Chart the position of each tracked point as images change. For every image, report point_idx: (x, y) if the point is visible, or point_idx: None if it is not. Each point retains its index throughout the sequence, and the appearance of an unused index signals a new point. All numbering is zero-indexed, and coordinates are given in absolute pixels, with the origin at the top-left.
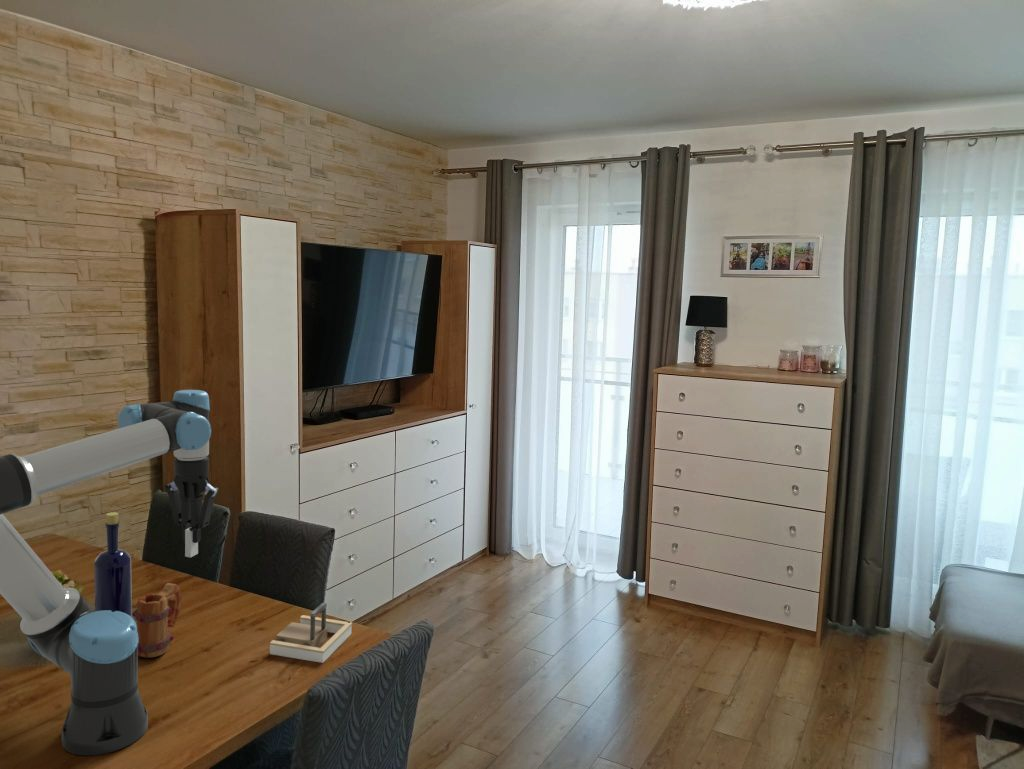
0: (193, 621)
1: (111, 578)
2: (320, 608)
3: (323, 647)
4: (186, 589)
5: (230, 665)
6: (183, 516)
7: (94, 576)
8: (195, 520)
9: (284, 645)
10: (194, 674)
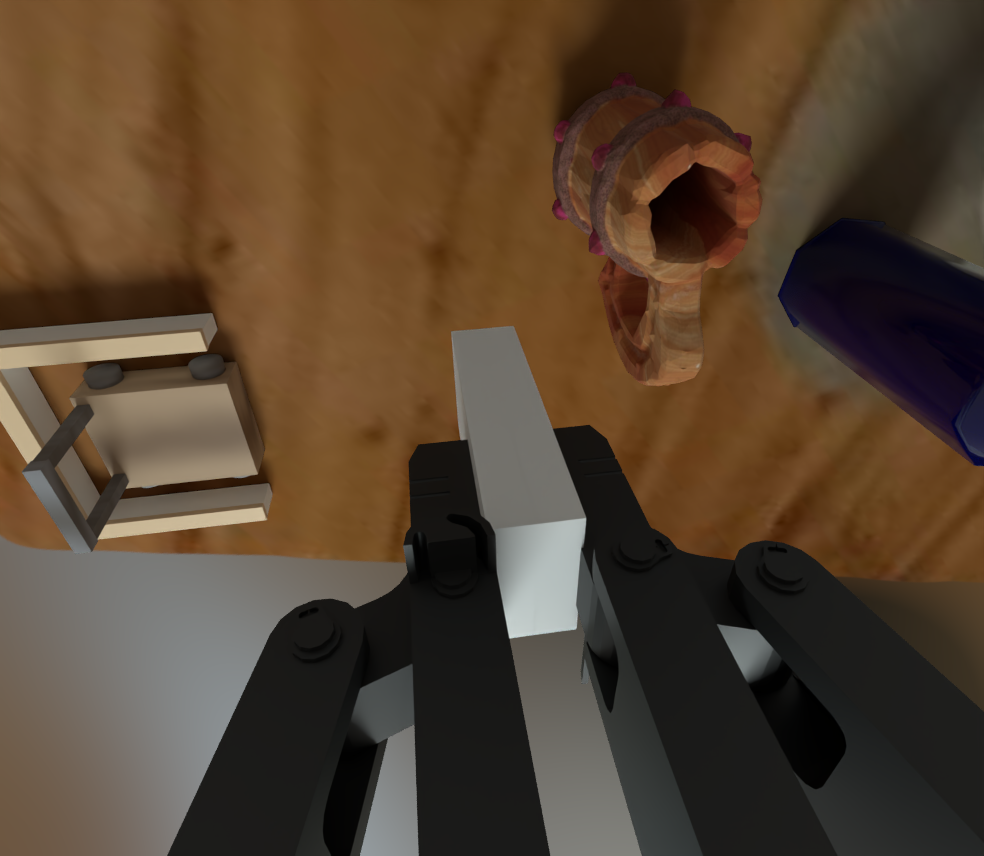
0: (604, 393)
1: (981, 319)
2: (51, 515)
3: None
4: (730, 524)
5: (271, 186)
6: (709, 720)
7: None
8: (421, 712)
9: (134, 336)
10: (342, 63)
